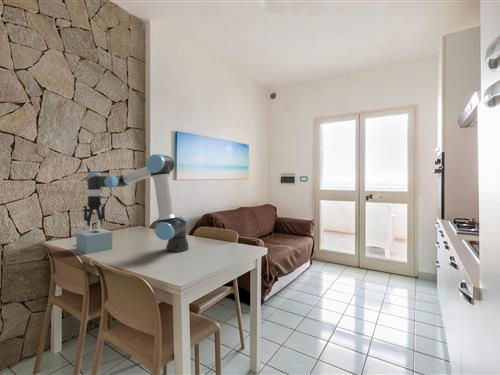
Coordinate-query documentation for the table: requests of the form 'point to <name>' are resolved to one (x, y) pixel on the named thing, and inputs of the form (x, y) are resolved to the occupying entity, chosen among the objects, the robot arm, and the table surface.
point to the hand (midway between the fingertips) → (94, 230)
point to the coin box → (93, 241)
